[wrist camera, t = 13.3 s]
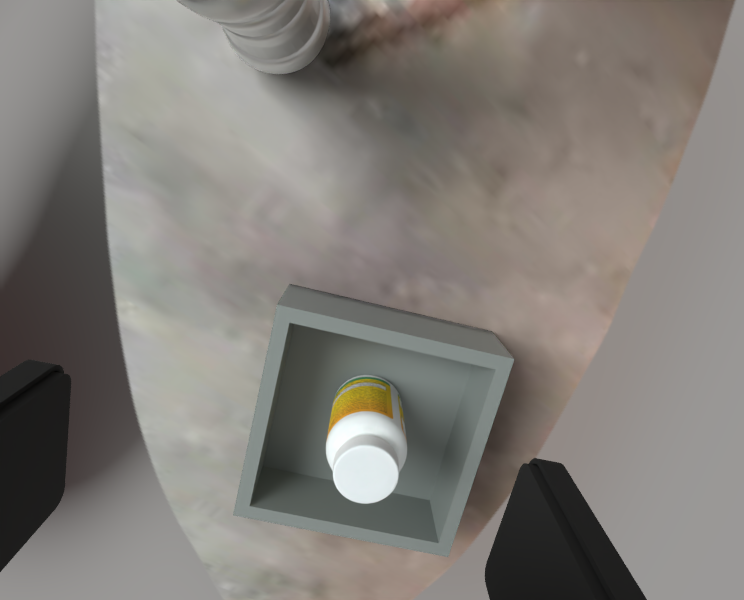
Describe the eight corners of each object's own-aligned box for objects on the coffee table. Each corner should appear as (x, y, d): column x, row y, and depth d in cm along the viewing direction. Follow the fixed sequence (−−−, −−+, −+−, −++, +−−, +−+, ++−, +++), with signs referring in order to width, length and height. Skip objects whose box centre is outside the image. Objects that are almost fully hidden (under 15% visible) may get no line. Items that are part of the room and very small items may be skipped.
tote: (289, 284, 38) (277, 304, 32) (491, 331, 40) (514, 358, 34) (250, 467, 42) (233, 515, 36) (436, 505, 43) (448, 556, 37)
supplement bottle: (415, 408, 40) (429, 481, 30) (362, 447, 41) (360, 530, 31) (371, 358, 39) (372, 418, 29) (318, 399, 40) (303, 470, 30)
